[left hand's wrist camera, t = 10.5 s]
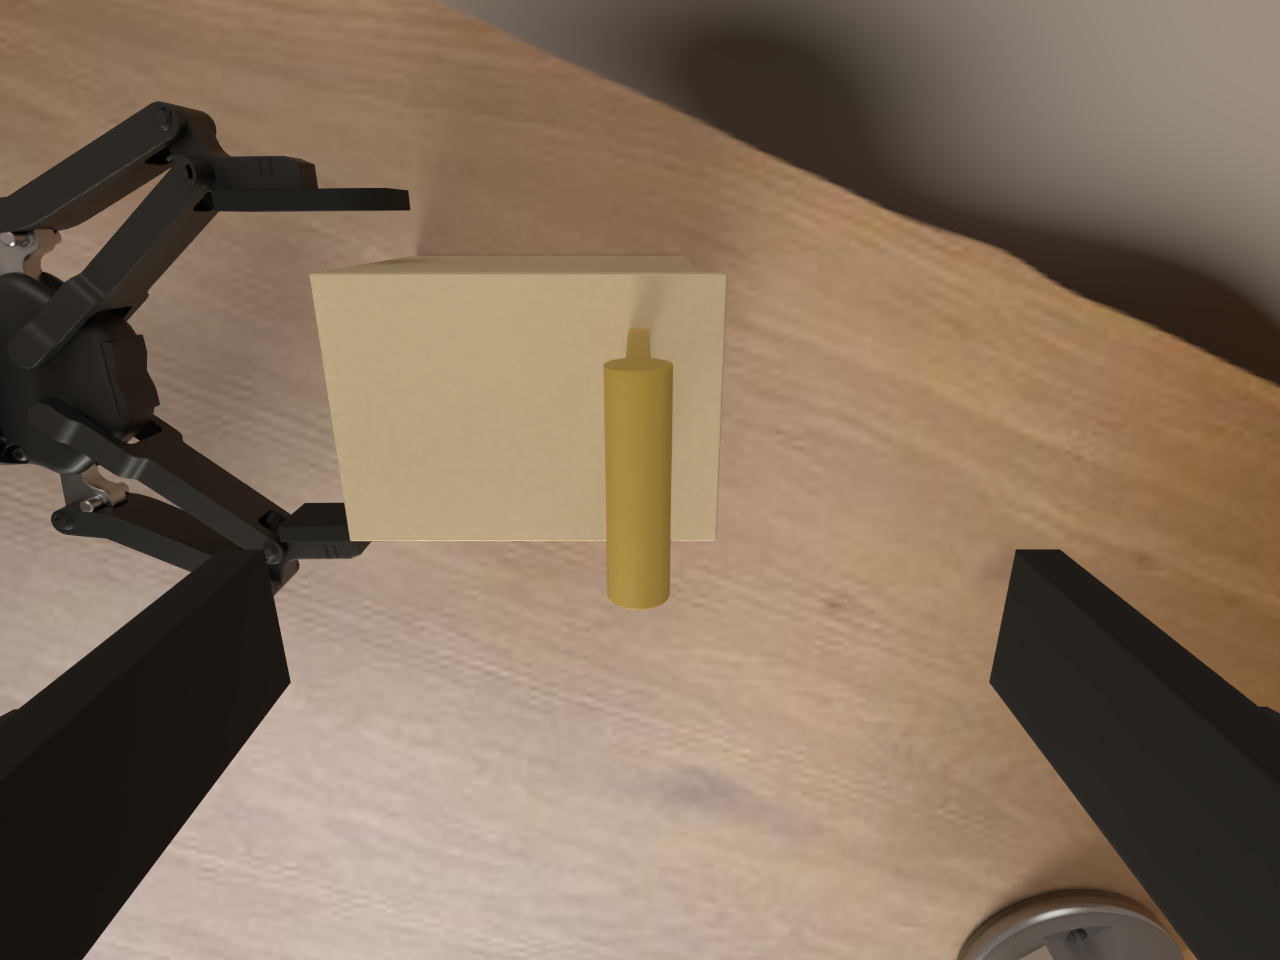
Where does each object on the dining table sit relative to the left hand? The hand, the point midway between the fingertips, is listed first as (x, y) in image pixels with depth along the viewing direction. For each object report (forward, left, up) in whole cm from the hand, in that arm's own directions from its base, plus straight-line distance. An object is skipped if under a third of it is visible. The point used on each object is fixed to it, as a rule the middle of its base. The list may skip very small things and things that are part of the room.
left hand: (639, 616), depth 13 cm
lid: (+3, +2, -14) cm, 15 cm away
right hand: (+8, +4, -19) cm, 21 cm away
